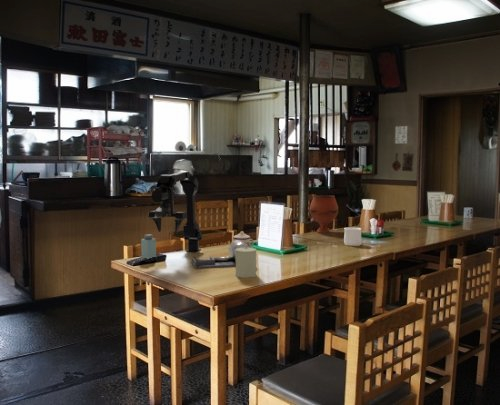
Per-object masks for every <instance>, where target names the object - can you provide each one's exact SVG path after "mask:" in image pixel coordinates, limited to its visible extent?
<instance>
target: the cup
mask: <svg viewBox="0 0 500 405" xmlns="http://www.w3.org/2000/svg"><path fill="white" fill-rule="evenodd" d="M343 231H344V234H343V235H344V236H343V243H344V245H345V246H348V247H349V246H350V247H359V246H361V244H362V228H361V227H356V226H355V227H353V226H351V227H350V226H348V227H344V228H343Z"/></svg>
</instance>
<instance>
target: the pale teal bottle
mask: <svg viewBox="0 0 500 405" xmlns="http://www.w3.org/2000/svg"><path fill="white" fill-rule="evenodd" d="M140 242H141V243H140V246H141V248H140V249H141V259H142V258H147V259H149V258H152V257H156V258H157V239H156V238H154V237H153V234H151V233H149V234H144V236H143V238H141V241H140Z"/></svg>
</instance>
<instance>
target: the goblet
mask: <svg viewBox="0 0 500 405" xmlns="http://www.w3.org/2000/svg"><path fill="white" fill-rule="evenodd" d="M309 214H310V216H311V218H312V219H313V220H314V221H315V222H317V223H319V224H318V225H319V227H318V229H317V230H316V233H323V234H326V233H330V229H329V228H328V226H329V224H330V223H332V222H333V221H334V220H335V219H336V218H337V217H338V214H339V205H338V203H337V199H336V197H335V195H330V194H329V195H328V194H326V195H325V194H316V195H315V194H314V195H313V198H312V200H311V201H310V207H309Z"/></svg>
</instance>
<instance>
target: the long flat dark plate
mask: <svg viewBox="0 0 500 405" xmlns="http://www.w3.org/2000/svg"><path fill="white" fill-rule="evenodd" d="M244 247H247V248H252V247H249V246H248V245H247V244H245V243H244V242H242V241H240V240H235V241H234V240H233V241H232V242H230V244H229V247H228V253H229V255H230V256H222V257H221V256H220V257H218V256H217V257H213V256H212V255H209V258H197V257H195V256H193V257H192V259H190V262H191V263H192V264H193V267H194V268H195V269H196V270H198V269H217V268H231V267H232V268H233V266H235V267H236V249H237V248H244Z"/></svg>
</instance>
